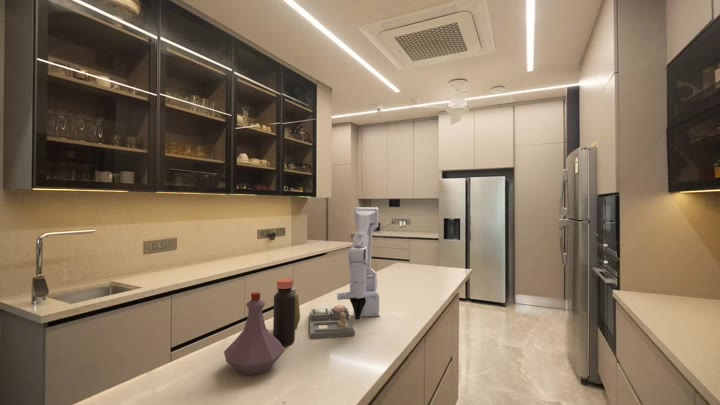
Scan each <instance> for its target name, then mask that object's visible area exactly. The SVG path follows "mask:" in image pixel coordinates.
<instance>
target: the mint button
mask: <svg viewBox="0 0 720 405" xmlns="http://www.w3.org/2000/svg"><path fill="white" fill-rule="evenodd" d="M315 309H316V310H315V311H314V315H317V314H326V310H325V309H326V308H315Z"/></svg>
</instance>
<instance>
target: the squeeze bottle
mask: <svg viewBox="0 0 720 405" xmlns="http://www.w3.org/2000/svg"><path fill="white" fill-rule="evenodd" d="M287 279H291V280H292V277H287ZM291 291H292V292H293V293H294V294H295V330H296V329H298V326H299V322H300V320H301V311H300V300H299V294H298V293H296V292H297V288H296V286H295V287H294V286H293V287H292V289H291Z"/></svg>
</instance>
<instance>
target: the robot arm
mask: <svg viewBox="0 0 720 405" xmlns="http://www.w3.org/2000/svg"><path fill="white" fill-rule="evenodd" d="M379 213H380V212H379V208H378V207H377V206H375V207H370V206H369V207H367V206H366V207H364V206H361V207H360V206H356V207H355V208H354V212H353V217H354V222H355V225H356V228H357V232H355V234H354V235H353V239H352V245H351V248H349V249H348V254H347V256H348V267H349V291H347V292H346V291H345V292H338V293H337V296H336V297H337V298H336V299H337V301H341V300H349V302H350V303H351V306H352V308H353V313H354V318H355V320H356V321H360V320H361V318H363V317H380V294H379V292H378V291H377V289H378V274H377V271H375V270H374V269H373V268H372V250H373V249H372V248H373V233H374V230H375V229H376V228H378V226H379V218H380V217H379Z"/></svg>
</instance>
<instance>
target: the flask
mask: <svg viewBox="0 0 720 405" xmlns="http://www.w3.org/2000/svg"><path fill="white" fill-rule="evenodd" d="M250 298H251V299H250V300H249V301H247V303H245V305H246V308H247V309H248V312H247V319H246V321H245V326H244V327H243V328H244V329H243V330H242V331H241V332H240V334H239V335H238V336H237V338H236V339H235V340H234V341H232V343H231V344H230V345H229V346H228V347H227V348H226V349H225V350H224V351H223V354H224V358H225V361H226V362H225V363H227V364H228V365H229V366H230V367H232V368H233V370H235V371H236V372H237V374H241V373H242V374H241V375H248V376H254V375H258V373H259V374H263V373H266V372H267V371H268V370H269V369H270V368H272V366H273V365H274V364H275V363H276V362H277V360H279V358H280V357H281V356H282V355H283V353H284V352H285V351H286V349H285V346H282V344H281V343H280V342H279V341H278V340H277V339H276V338H275V337H274V336H273V334H272V333H271V332H270V331H269V330H268V329H267V326H266V323H265V319H264V315H263V310H264V306H265V305H266V302H264V301H263V300H262V299H261V292H251V293H250ZM253 374H254V375H253Z"/></svg>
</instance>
